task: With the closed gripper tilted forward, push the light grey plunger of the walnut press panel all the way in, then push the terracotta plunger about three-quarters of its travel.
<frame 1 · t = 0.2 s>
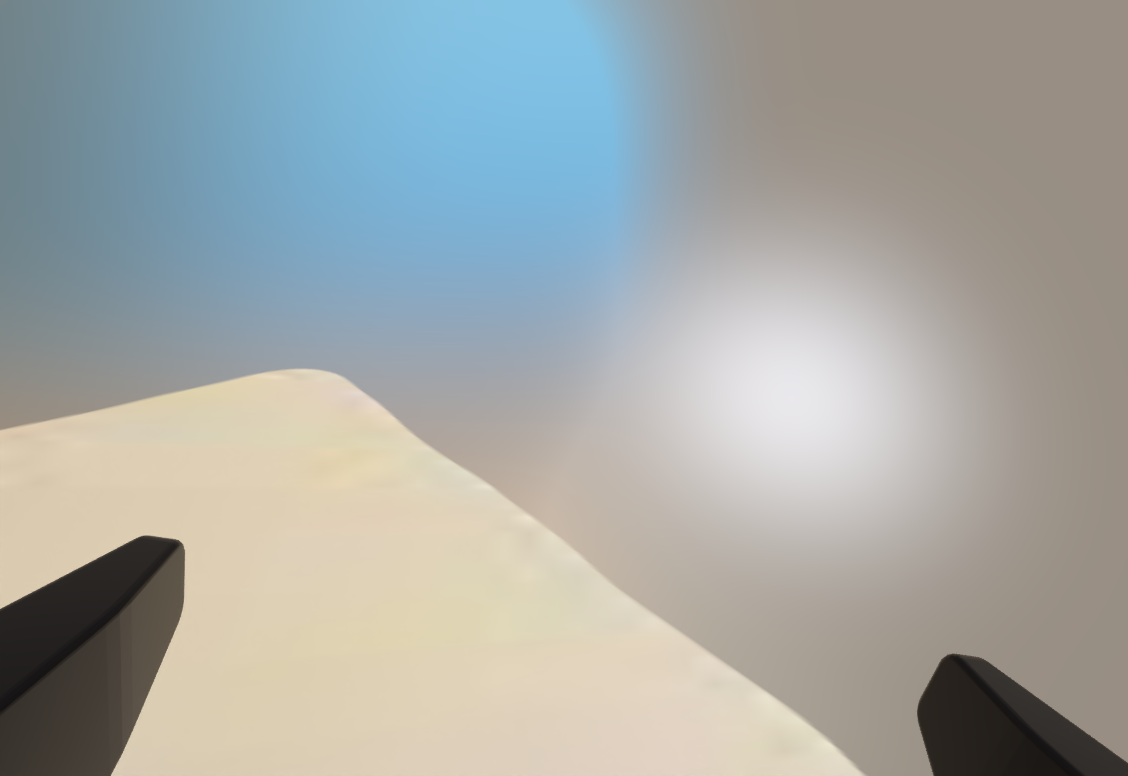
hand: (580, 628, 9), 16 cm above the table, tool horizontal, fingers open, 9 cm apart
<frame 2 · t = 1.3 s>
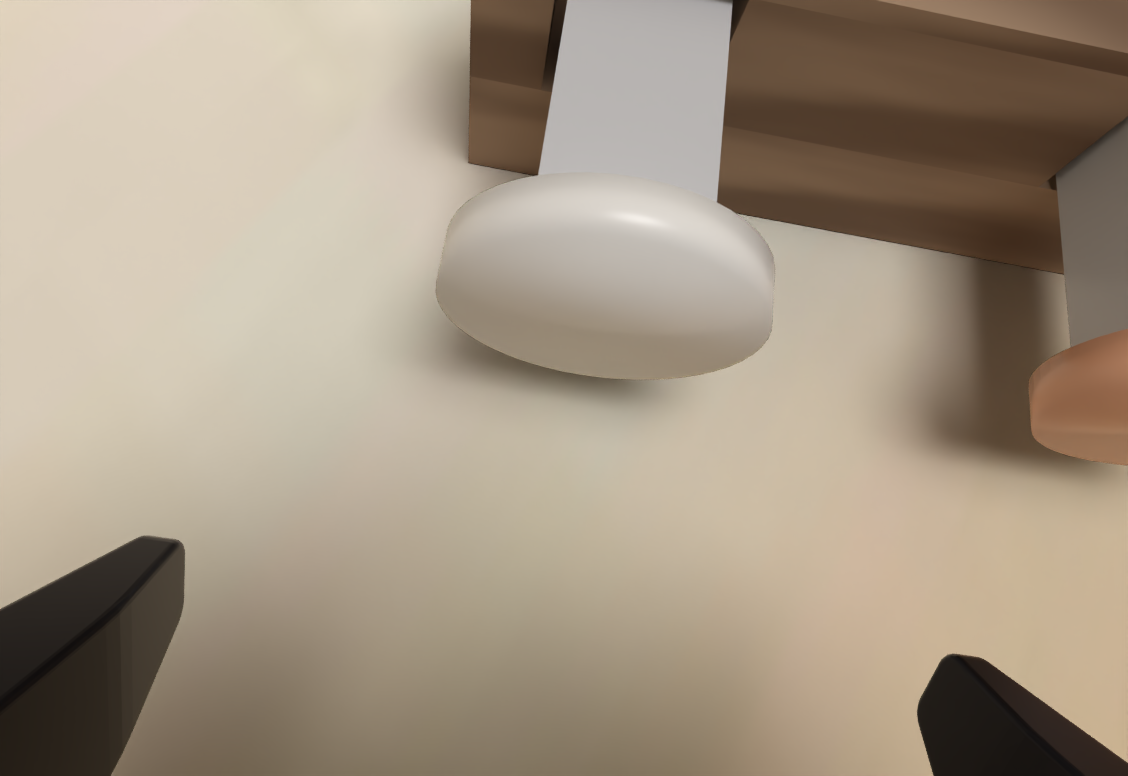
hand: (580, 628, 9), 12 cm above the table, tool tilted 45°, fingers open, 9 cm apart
grey plunger: (624, 138, 18), point 6 cm above the table, slide at 0.0 cm
press panel: (810, 226, 25), on the table
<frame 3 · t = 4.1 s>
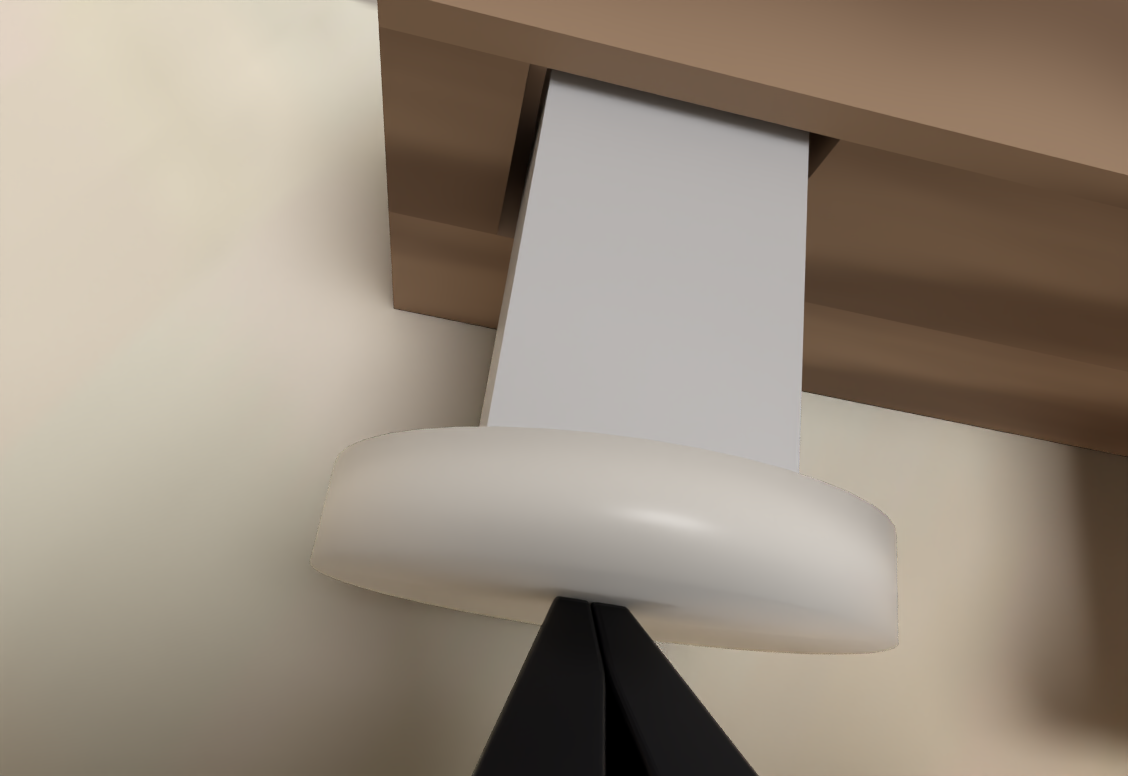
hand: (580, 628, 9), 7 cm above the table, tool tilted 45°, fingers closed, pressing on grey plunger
grey plunger: (633, 289, 11), point 6 cm above the table, slide at 0.9 cm, touching gripper
press panel: (860, 402, 18), on the table
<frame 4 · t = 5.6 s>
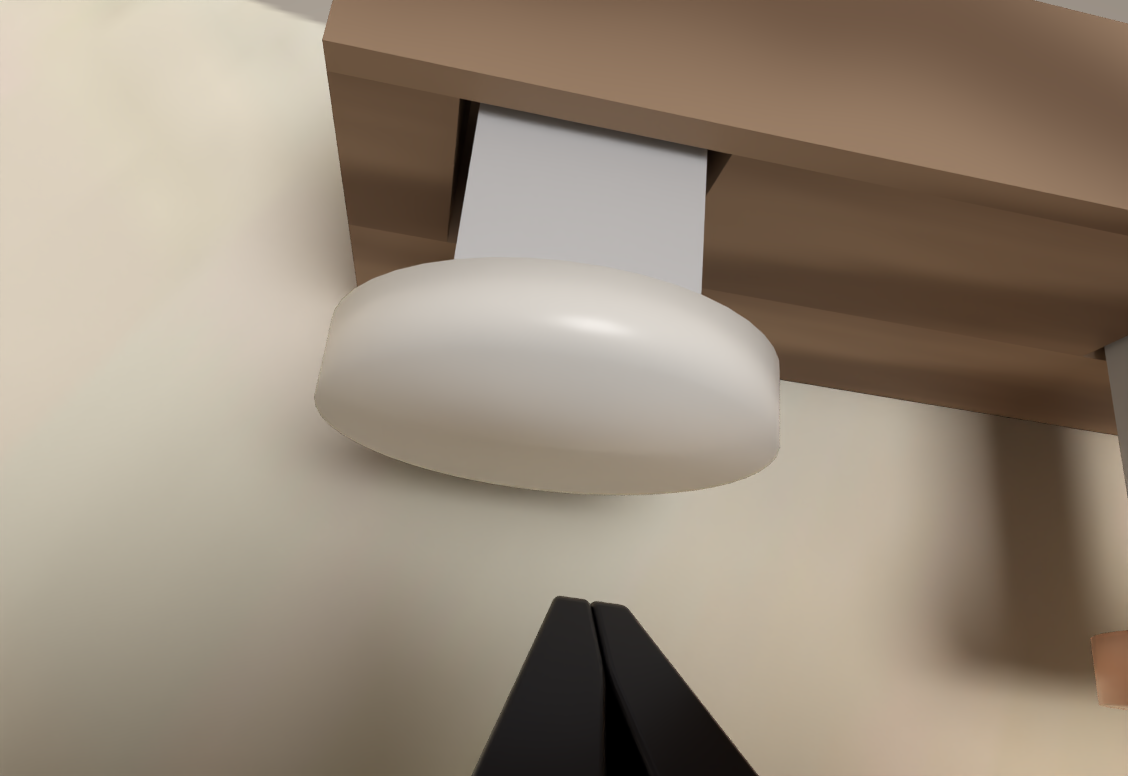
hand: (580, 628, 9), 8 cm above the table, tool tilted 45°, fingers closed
grey plunger: (573, 190, 14), point 6 cm above the table, slide at 2.9 cm
press panel: (793, 381, 20), on the table
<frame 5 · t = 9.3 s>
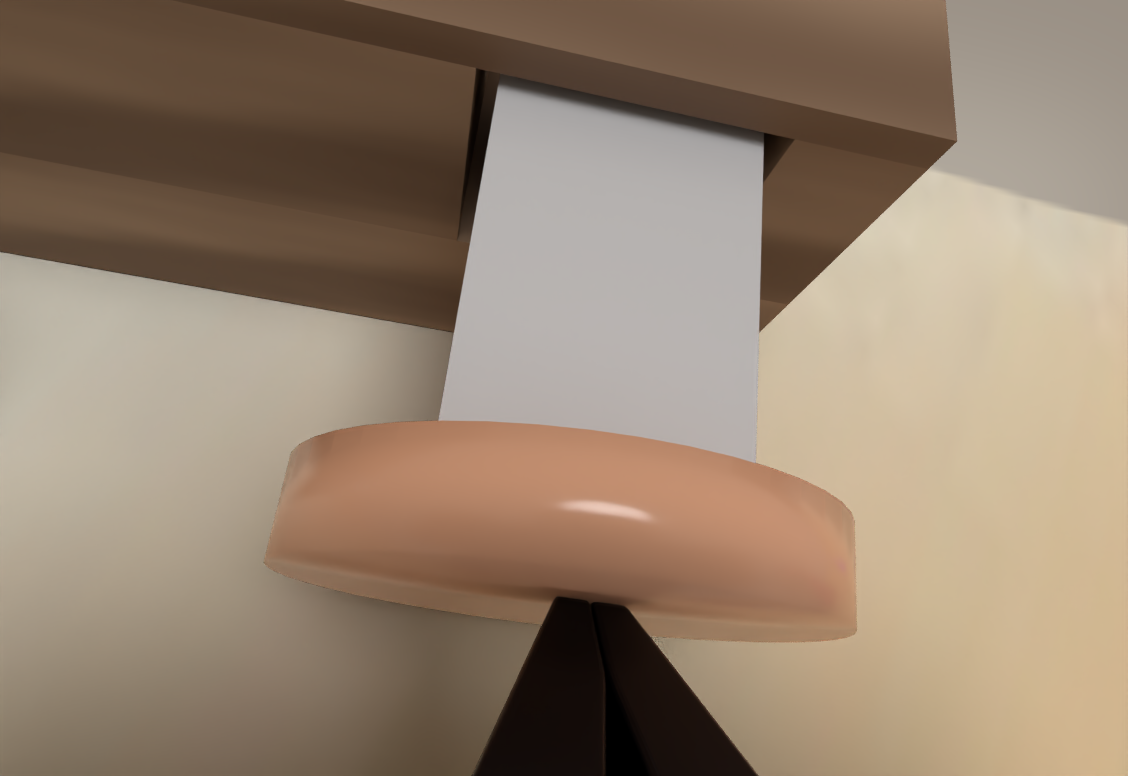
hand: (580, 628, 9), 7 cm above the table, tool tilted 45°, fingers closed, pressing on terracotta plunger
press panel: (215, 289, 17), on the table
terracotta plunger: (592, 280, 11), point 6 cm above the table, slide at 1.2 cm, touching gripper
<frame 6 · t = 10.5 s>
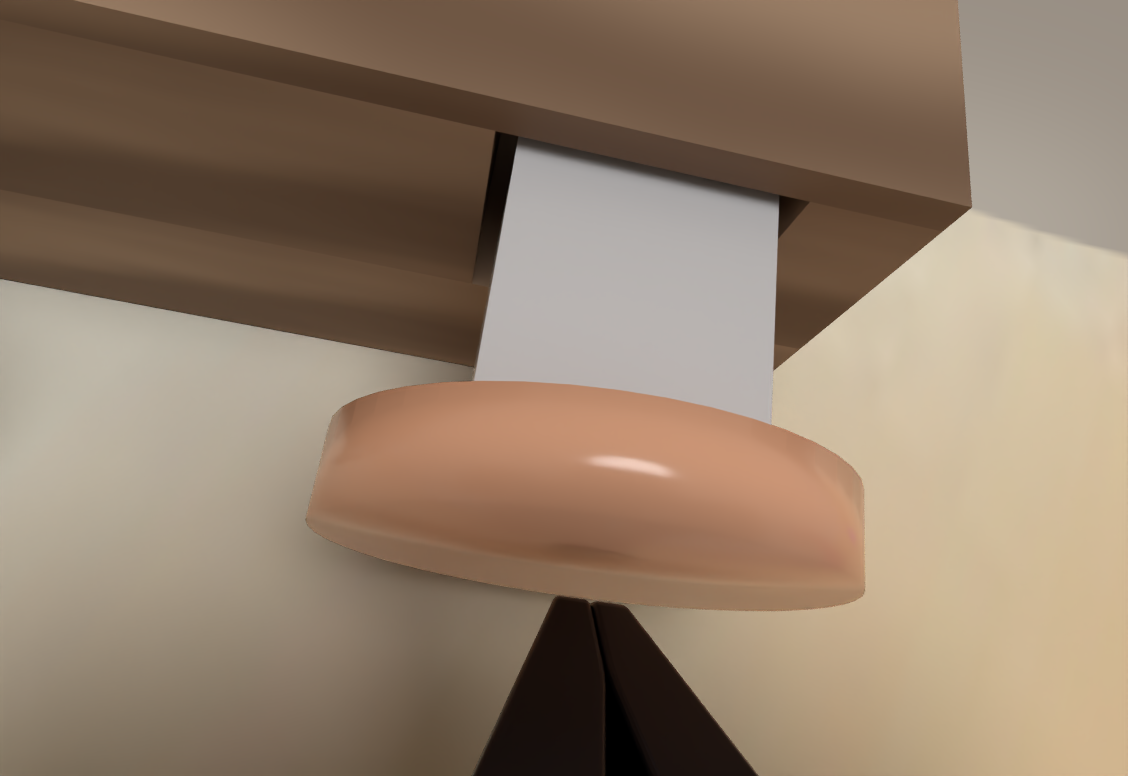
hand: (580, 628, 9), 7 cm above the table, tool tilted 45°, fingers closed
press panel: (231, 321, 17), on the table
terracotta plunger: (615, 263, 12), point 6 cm above the table, slide at 2.3 cm
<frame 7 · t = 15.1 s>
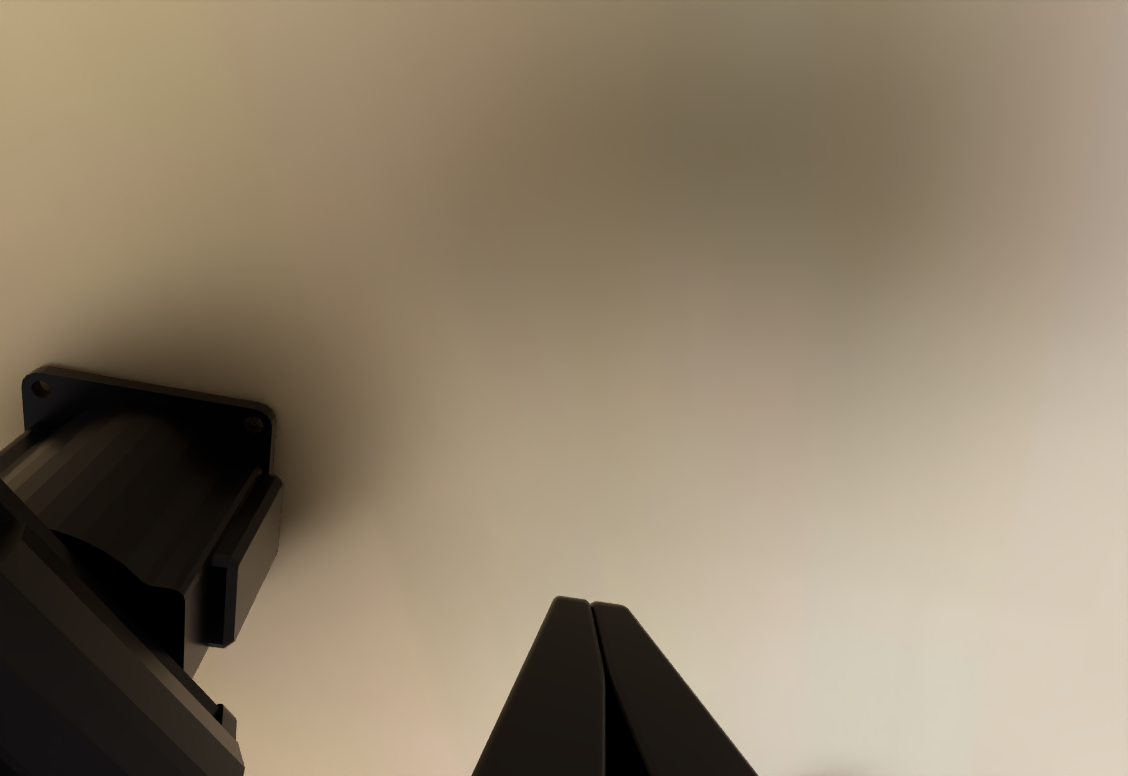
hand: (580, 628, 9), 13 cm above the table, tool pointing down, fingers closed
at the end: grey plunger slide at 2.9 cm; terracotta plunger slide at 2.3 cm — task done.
